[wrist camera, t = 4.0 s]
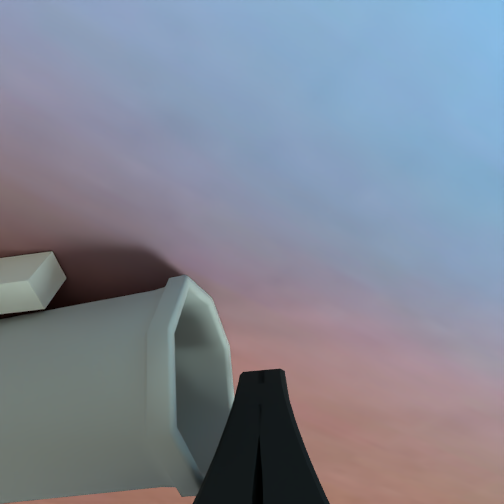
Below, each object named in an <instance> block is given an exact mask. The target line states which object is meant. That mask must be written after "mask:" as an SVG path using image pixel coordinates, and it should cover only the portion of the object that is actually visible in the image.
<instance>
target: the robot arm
mask: <svg viewBox="0 0 504 504" xmlns="http://www.w3.org/2000/svg"><path fill="white" fill-rule="evenodd" d="M193 504H330V503H329V501H328V499H327V497H326V495H325V493H324V491H323V488H322V486H321V484H320V482H319V479H318V477H317V475H316V472H315V470H314V468H313V465H312V463H311V461H310V458H309V456H308V453H307V451H306V448H305V445H304V443H303V440H302V437H301V435H300V432H299V429H298V426H297V423H296V420H295V417H294V414H293V411H292V407H291V404H290V400H289V395H288V389H287V383H286V377H285V371H283V370H282V369H272V370H261V371H249V372H243V373H242V374H241V375H240V378H239V382H238V387H237V390H236V394H235V398H234V401H233V404H232V407H231V411H230V414H229V417H228V420H227V423H226V425H225V428H224V431H223V433H222V436H221V439H220V441H219V444H218V447H217V450H216V452H215V455H214V457H213V459H212V462H211V464H210V466H209V469H208V471H207V473H206V476H205V478H204V480H203V483H202V485H201V487H200V489H199V492H198V494H197V496H196V498H195V500H194V502H193Z"/></svg>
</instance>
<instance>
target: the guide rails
mask: <svg viewBox="0 0 504 504" xmlns="http://www.w3.org/2000/svg"><path fill="white" fill-rule="evenodd" d="M65 280H66V276H65V274H64V272H63V271H62V269H61V267H60V265H59V263H58V261H57V259H56V257H55V256H54V254H53V252H52V251H50V252H43V253H35V254H28V255H20V256H12V257H5V258H0V314H6V313H15V312H24V311H32V310H41V309H45V308H46V307H47V305H48V304H49V303H50V301H51V300H52V298H53V297H54V295H55V294H56V293H57V291H58V290H59V288H60V287H61V286H62V284H63V283H64V281H65Z"/></svg>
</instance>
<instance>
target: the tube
mask: <svg viewBox="0 0 504 504" xmlns="http://www.w3.org/2000/svg"><path fill="white" fill-rule="evenodd" d="M233 401H234V388H233V377H232V366H231V354H230V346H229V343H228V340H227V337H226V335H225V332H224V329H223V326H222V323H221V321H220V318H219V315H218V312H217V310H216V307H215V304H214V301H213V299H212V297H210V296H209V295H208V294H207V293H206V292H205V291H204V290H203V289H201V288H200V287H199V286H198V285H197V284H196V283H195V282H194V281H193V280H191V279H190V278H189V277H188V276H186V275H182V276H177V277H172V278H169V279H168V282H167V284H166V286H165V287H163V288H160V289H157V290H153V291H148V292H143V293H137V294H132V295H127V296H121V297H116V298H111V299H105V300H100V301H95V302H89V303H84V304H79V305H73V306H68V307H63V308H57V309H52V310H46V311H41V312H36V313H30V314H25V315H20V316H14V317H9V318H4V319H0V503H10V502H20V501H29V500H39V499H49V498H58V497H68V496H78V495H88V494H97V493H107V492H117V491H126V490H136V489H146V488H156V487H176V488H177V490H178V491H179V493H180V495H181V496H182V497H185V496H197V494H198V492H199V489H200V487H201V485H202V483H203V480H204V478H205V476H206V473H207V471H208V469H209V466H210V464H211V462H212V459H213V457H214V455H215V452H216V450H217V447H218V444H219V441H220V439H221V436H222V433H223V431H224V428H225V425H226V423H227V420H228V417H229V414H230V411H231V407H232V404H233Z"/></svg>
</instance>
